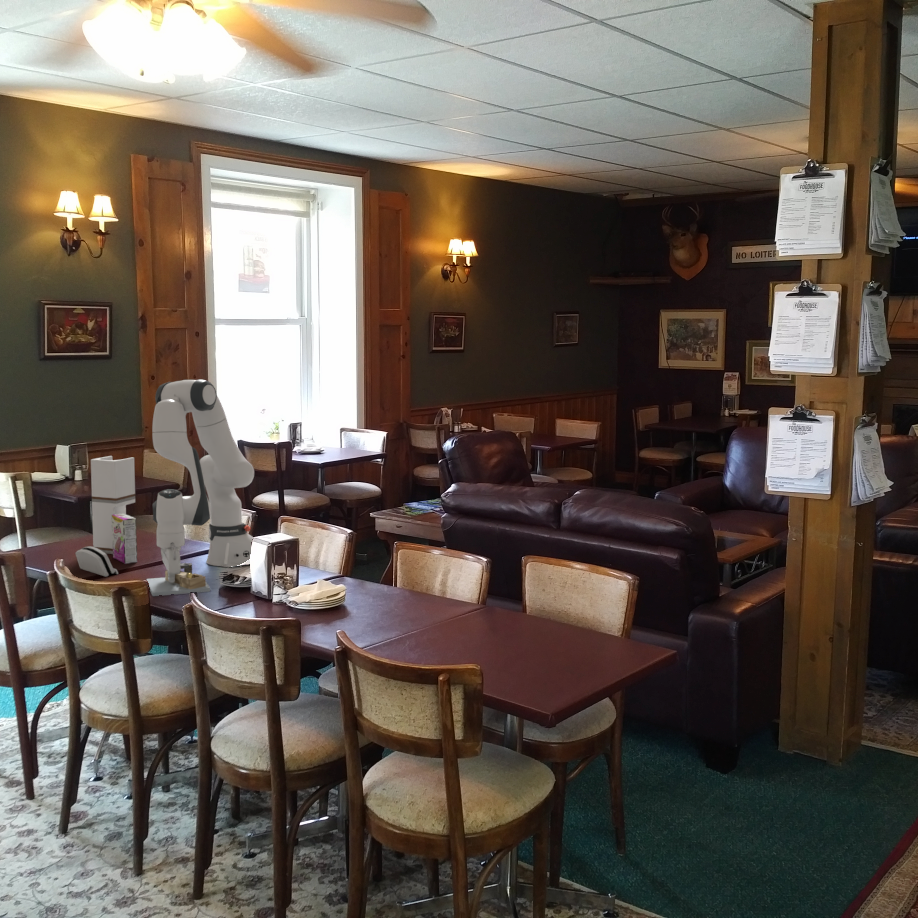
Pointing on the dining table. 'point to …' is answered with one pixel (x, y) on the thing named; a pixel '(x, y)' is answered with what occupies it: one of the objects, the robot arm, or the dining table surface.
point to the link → (188, 580)
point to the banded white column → (110, 496)
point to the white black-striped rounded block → (94, 561)
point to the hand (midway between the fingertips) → (171, 581)
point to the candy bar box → (124, 538)
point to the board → (171, 587)
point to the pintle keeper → (187, 569)
